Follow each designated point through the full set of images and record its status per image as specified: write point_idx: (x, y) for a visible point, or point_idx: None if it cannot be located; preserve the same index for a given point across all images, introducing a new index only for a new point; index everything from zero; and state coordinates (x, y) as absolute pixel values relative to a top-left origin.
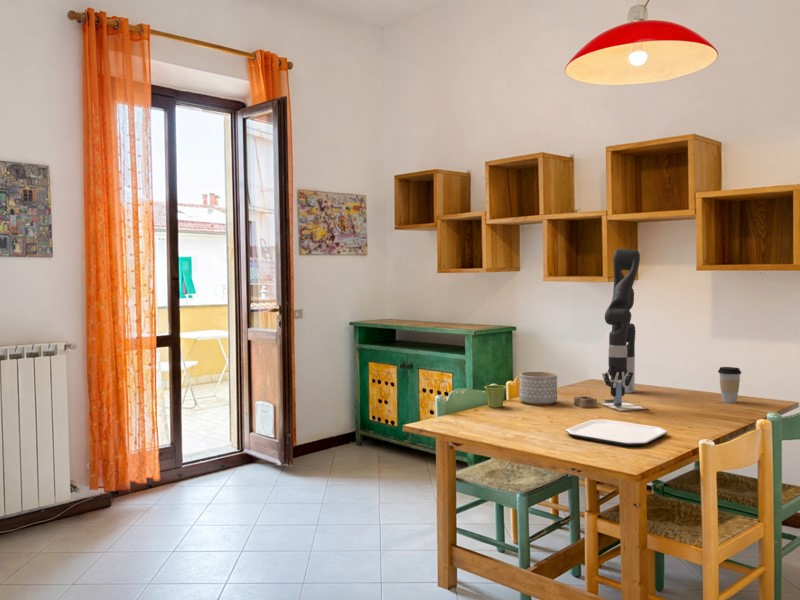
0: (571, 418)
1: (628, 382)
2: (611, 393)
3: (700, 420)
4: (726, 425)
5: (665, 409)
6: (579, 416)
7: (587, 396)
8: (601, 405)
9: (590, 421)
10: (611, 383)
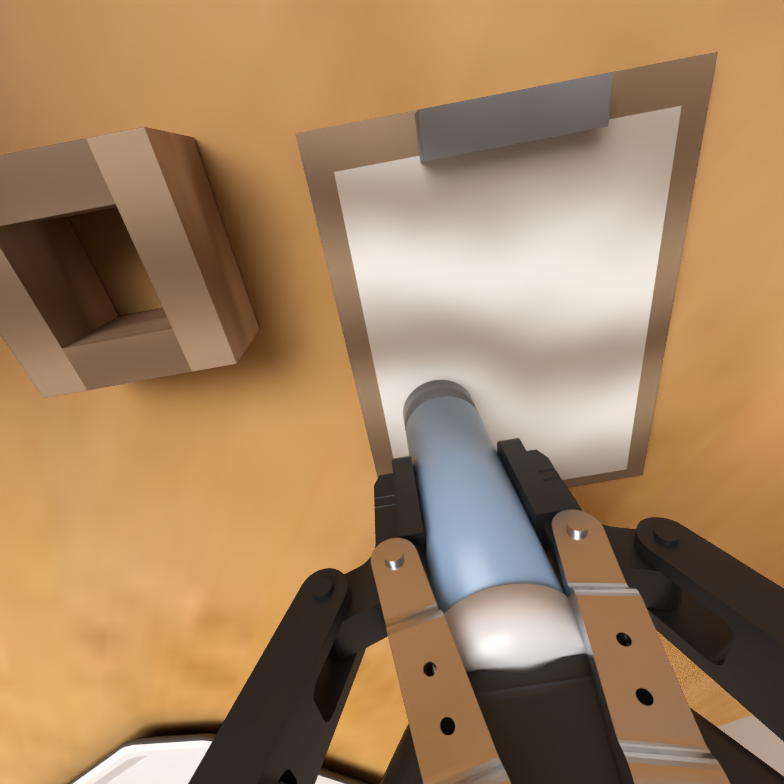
0: (27, 640)
1: (679, 627)
2: (381, 497)
3: (691, 664)
4: (709, 715)
5: (771, 451)
6: (78, 604)
7: (122, 162)
8: (327, 260)
9: (122, 764)
10: (394, 604)
